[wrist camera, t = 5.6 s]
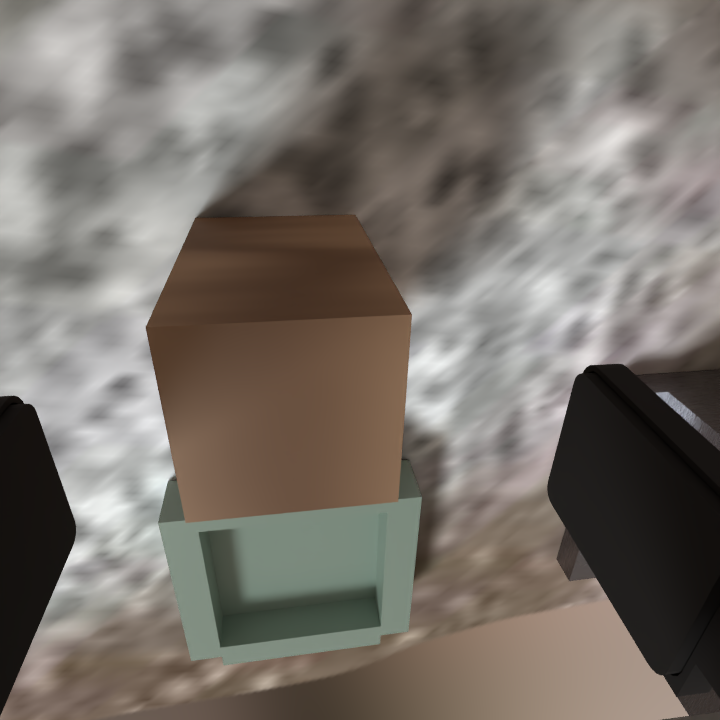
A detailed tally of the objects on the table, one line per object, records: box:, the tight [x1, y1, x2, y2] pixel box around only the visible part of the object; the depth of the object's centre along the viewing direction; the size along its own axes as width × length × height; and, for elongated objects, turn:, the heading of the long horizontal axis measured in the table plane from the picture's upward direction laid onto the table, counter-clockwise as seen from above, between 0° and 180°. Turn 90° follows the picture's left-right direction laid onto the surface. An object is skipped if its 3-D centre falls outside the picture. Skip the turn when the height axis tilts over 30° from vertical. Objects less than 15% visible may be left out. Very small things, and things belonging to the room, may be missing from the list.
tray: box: [158, 460, 422, 665], centre depth 21 cm, size 9×9×2 cm
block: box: [146, 215, 412, 523], centre depth 13 cm, size 4×4×7 cm
